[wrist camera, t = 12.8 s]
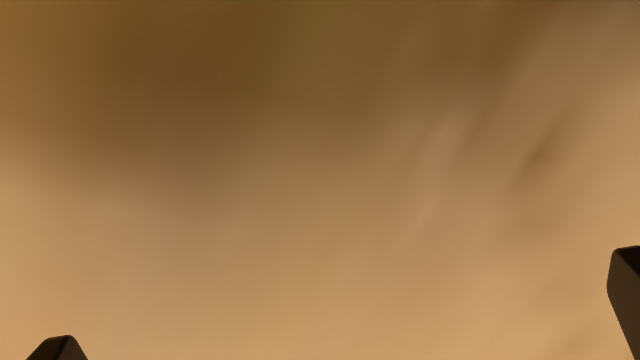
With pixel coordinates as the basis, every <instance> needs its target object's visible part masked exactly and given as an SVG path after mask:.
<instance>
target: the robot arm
mask: <svg viewBox="0 0 640 360" xmlns="http://www.w3.org/2000/svg"><path fill="white" fill-rule="evenodd" d="M607 293H608V297H609V300H610V302H611V304H612V307H613V309H614V312H615V314H616V316H617V319H618V321H619V324H620V326H621V328H622V331H623V333H624V335H625V338H626V340H627V343H628V345H629V347H630V350H631V352H632V355H633V357H634V359H635V360H640V246H638V245H636V246H629V247H623V248H617V249H615V250H614V251H613V253H612V256H611V261H610V267H609V273H608V279H607ZM26 360H88V359H87V357H86V356H85V354H84V352H83V351H82V349H81V347H80V346H79V344H78V342H77V341H76V339H75V338H74V337H73V336H71V335H64V336H57V337H51V338H48V339H46V340H44V341H43V342H42V343H41V344H40V345H39V346H38V347H37V348H36V349H35V350H34V351H33V353H32V354H31V355H30V356H29V357H28V358H27V359H26Z"/></svg>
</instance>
